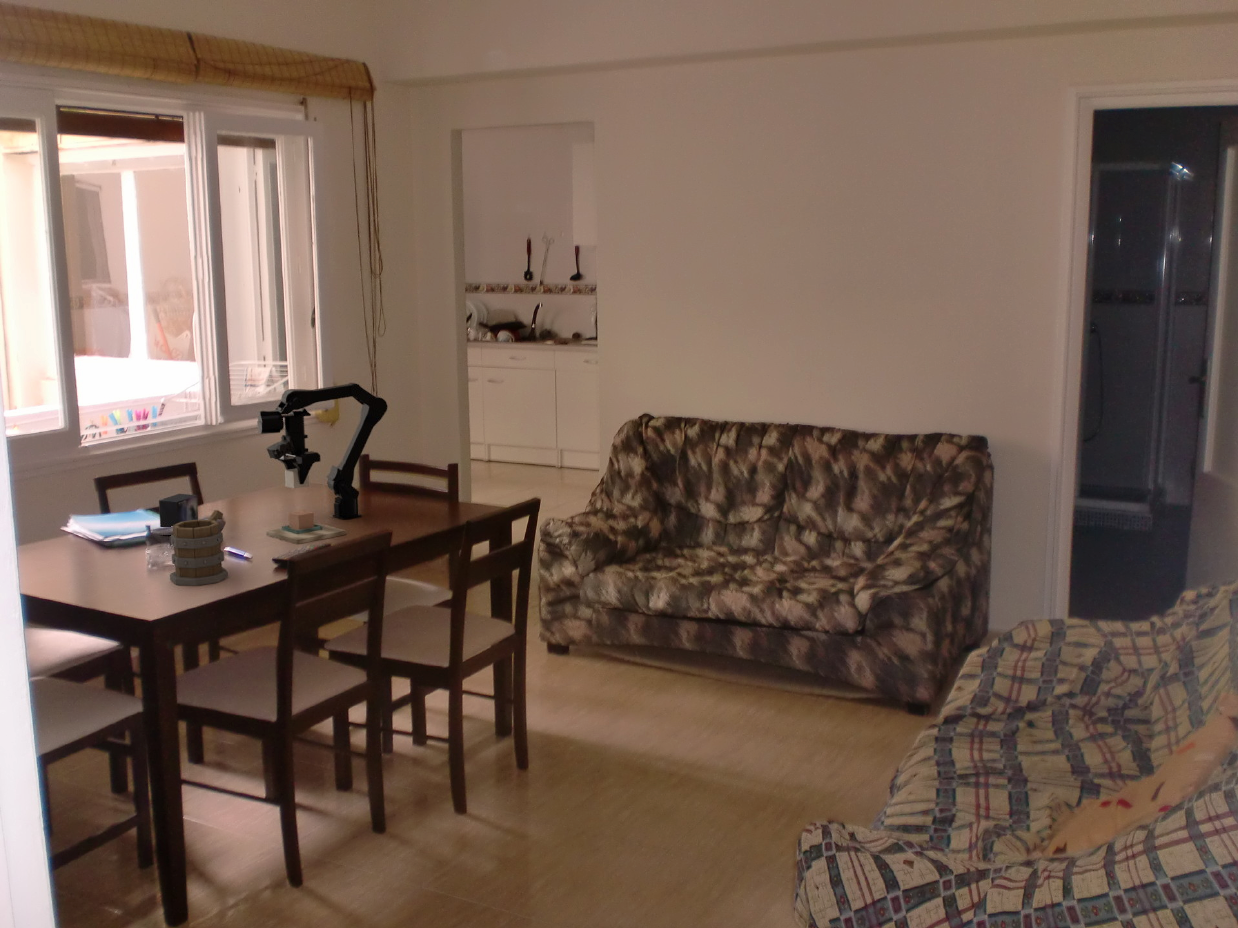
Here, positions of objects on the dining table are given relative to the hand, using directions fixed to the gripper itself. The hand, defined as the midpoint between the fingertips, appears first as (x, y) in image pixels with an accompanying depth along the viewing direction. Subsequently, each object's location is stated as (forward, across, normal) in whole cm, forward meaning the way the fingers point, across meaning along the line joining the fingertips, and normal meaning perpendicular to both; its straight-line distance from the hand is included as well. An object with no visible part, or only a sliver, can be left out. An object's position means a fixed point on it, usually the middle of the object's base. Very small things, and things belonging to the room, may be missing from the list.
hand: (297, 482), depth 347 cm
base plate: (+12, +17, -7) cm, 22 cm away
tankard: (+12, +38, -48) cm, 62 cm away
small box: (+12, -12, -31) cm, 36 cm away
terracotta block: (+11, +15, -7) cm, 20 cm away
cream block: (+1, 0, 0) cm, 1 cm away
